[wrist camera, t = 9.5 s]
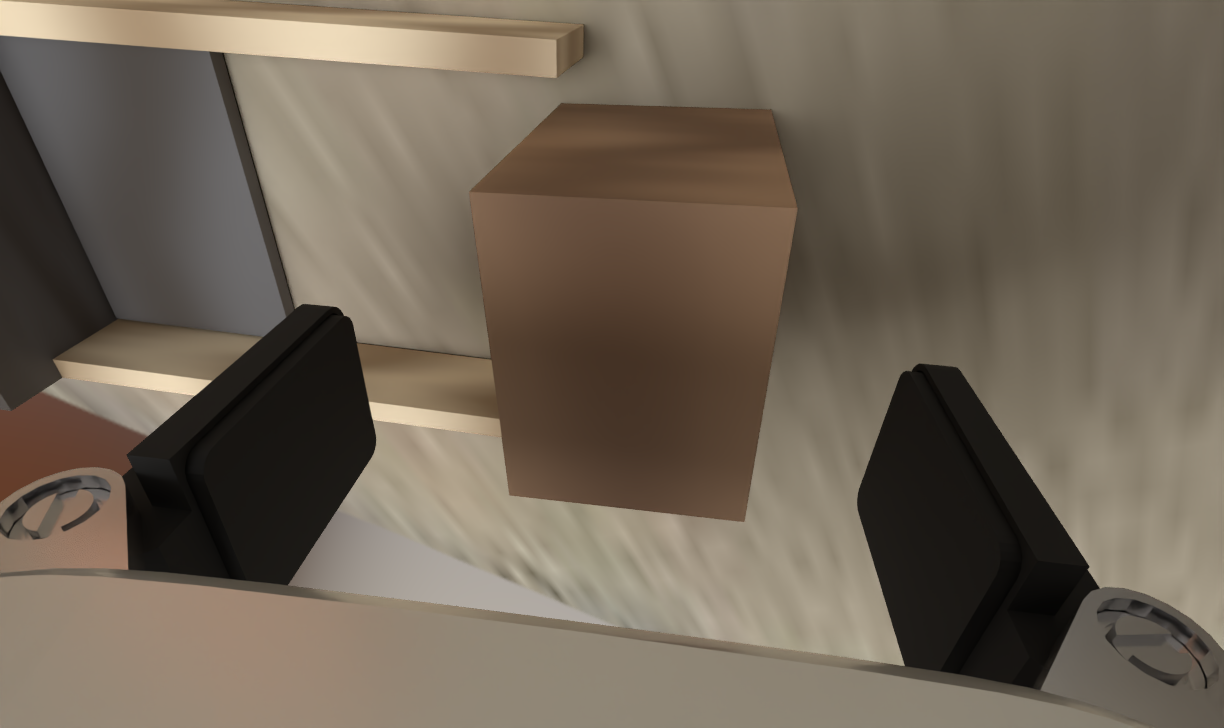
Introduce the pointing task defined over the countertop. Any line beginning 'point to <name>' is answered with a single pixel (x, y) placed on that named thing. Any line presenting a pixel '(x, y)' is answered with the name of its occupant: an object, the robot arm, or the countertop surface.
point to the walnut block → (635, 302)
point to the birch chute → (191, 190)
